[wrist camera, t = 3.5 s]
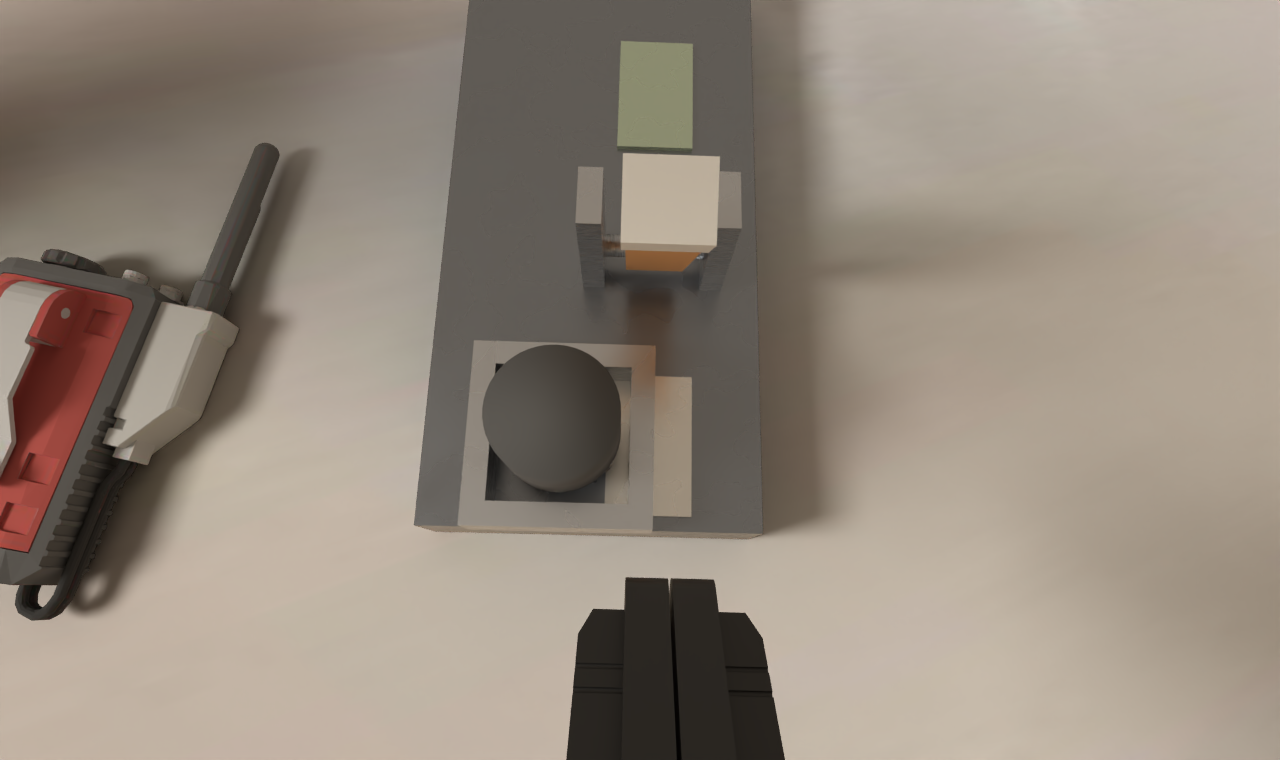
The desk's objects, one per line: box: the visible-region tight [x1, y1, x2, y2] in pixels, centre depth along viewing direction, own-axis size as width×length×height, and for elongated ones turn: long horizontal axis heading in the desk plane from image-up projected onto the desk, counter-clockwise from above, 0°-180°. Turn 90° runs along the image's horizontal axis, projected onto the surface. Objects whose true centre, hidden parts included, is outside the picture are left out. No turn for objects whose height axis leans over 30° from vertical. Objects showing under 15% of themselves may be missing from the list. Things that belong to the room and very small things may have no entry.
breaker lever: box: [620, 153, 720, 272], centre depth 21 cm, size 2×2×9 cm
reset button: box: [482, 345, 621, 493], centre depth 22 cm, size 4×4×3 cm
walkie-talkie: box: [0, 143, 280, 620], centre depth 28 cm, size 9×4×20 cm
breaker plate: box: [414, 0, 763, 539], centre depth 27 cm, size 12×25×8 cm, turn 179°
